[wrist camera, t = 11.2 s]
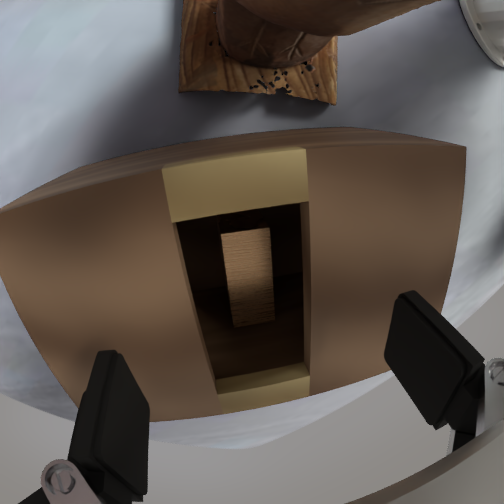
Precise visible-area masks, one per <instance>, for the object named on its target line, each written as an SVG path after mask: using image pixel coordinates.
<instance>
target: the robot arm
mask: <svg viewBox="0 0 504 504" xmlns="http://www.w3.org/2000/svg"><path fill="white" fill-rule="evenodd" d="M459 2H460V5H461V8H462V11H463V14H464V17H465V19H466V21H467V23H468V26H469V28H470V30H471V32H472V33H473V35H474V37H475V39H476V40H477V42H478V44H479V45H480V46H481V48H482V49H483V51H484V52H485V53H486V54H487V55H488V56H489V58H490V59H491V60H492V61H494V62H495V63H496V64H497V65H499V66H501V67H504V0H459ZM384 359H385V361H386V363H387V364H388V366H389V367H390V369H391V370H392V371H393V373H394V374H395V376H396V377H397V379H398V380H399V382H400V383H401V384H402V386H403V387H404V389H405V390H406V392H407V393H408V395H409V396H410V398H411V399H412V401H413V402H414V404H415V405H416V407H417V408H418V410H419V411H420V413H421V414H422V416H423V417H424V419H425V420H426V422H427V423H428V424H429V425H433V427H434V428H435V430H437V429H439V428H441V427H443V426H444V425H446V424H447V423H449V425H450V427H451V431H450V437H449V444H448V450H447V455H446V457H444V458H442V459H441V460H439V461H438V462H436V463H434V464H432V465H430V466H429V467H427V468H425V469H423V470H421V471H419V472H417V473H415V474H414V475H412V476H410V477H408V478H406V479H404V480H401V481H399V482H398V483H395V484H393V485H391V486H388V487H386V488H384V489H382V490H379V491H377V492H375V493H372V494H370V495H367V496H365V497H362V498H360V499H357V500H354V501H352V502H349V503H346V504H504V359H502V358H494V359H491V360H490V361H489V362H487V364H486V366H485V364H484V363H483V362H484V360H485V359H484V358H483V357H482V356H481V354H480V353H479V352H478V351H477V350H476V349H475V348H474V347H473V346H472V345H471V344H470V343H469V342H468V341H467V340H466V339H465V338H464V337H463V336H462V335H461V334H460V333H459V332H458V331H457V330H456V329H455V328H454V327H453V326H452V325H451V324H450V323H449V322H448V321H447V320H446V319H445V318H444V317H443V316H442V315H441V314H440V313H439V312H438V311H437V310H436V309H435V308H434V307H433V306H432V305H431V304H429V303H428V302H427V301H426V300H425V299H424V298H423V297H422V296H421V295H420V294H419V293H418V292H417V291H415V290H411V291H407V292H404V293H401V294H399V295H398V298H397V299H396V300H395V302H394V307H393V313H392V318H391V323H390V328H389V332H388V337H387V341H386V346H385V350H384ZM149 421H150V407H149V403H148V401H147V400H146V398H145V396H144V394H143V393H142V391H141V389H140V387H139V385H138V384H137V382H136V380H135V378H134V376H133V374H132V372H131V370H130V369H129V367H128V365H127V363H126V361H125V359H124V357H123V355H122V354H121V353H117V351H116V350H103V351H98V353H97V355H96V358H95V361H94V365H93V368H92V371H91V375H90V378H89V382H88V385H87V389H86V391H84V393H83V395H82V398H81V402H80V406H79V409H78V413H77V418H76V422H75V426H74V431H73V435H72V439H71V444H70V449H69V454H68V459H67V460H63V459H58V460H54V461H52V462H50V463H49V464H48V465H46V467H45V468H44V470H43V471H42V475H41V485H42V487H41V488H40V489H38V490H37V491H36V492H34V493H33V494H31V495H30V496H29V497H27V498H26V499H24V500H23V501H21V502H20V503H18V504H132V501H135V502H143V495H146V494H147V487H148V486H147V485H148V482H147V481H148V480H147V479H148V476H147V475H148V441H149Z"/></svg>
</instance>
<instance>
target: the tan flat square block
mask: <svg viewBox="0 0 504 504" xmlns="http://www.w3.org/2000/svg"><path fill="white" fill-rule="evenodd" d="M216 220H217V227H218V235H219V242H220V249H221V257H222V264H223V271H224V278H225V283H226V289H227V294H228V299H229V304H230V309H231V314H232V319H233V325H234V328H236V327H242V326H248V325H254V324H259V323H265V322H271V321H275V310H274V291H273V273H272V256H271V239H270V227H269V226H268V224H267V223H266V221H265V220H264V218H263V217H262V215H261V214H260V212H259V211H258V209H251V210H245V211H238V212H232V213H226V214H220V215H216Z"/></svg>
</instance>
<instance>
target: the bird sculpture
mask: <svg viewBox="0 0 504 504" xmlns="http://www.w3.org/2000/svg"><path fill="white" fill-rule="evenodd" d="M436 1H441V0H183V4H184V5H183V12H182V23H181V27H182V35H181V43H180V72H179V89H178V93H182V92H188V91H200V90H201V91H202V90H211V91H219V90H221V89H222V90H225V91H228V92H230V91H232V92H235V91H238V92H249V93H251V92H253V93H256V94H258V93H262V92H263V93H267V94H274V95H275V92H276V91H275V89H276V88H278V89H279V88H281V87H285V88H286V84H288V85H289V87H288V89H287V91H288V90H292V93H286V94H289V95H291V94H292V95H293V96H295V97H298V96H299V97H301V98H306V99H309V100H313V99H318V100H319V101H322V102H326V103H330V104H331V105H334V106H335V105H336V100H337V41H338V36H345V35H351V34H353V33H356V32H359V31H362V30H365V29H367V28H369V27H371V26H374V25H377V24H379V23H381V22H384V21H386V20H389V19H392V18H394V17H396V16H400V15H402V14H404V13H407V12H409V11H411V10H413V9H418V8H420V7H421V6H424V5H428V4H431V3H433V2H436ZM216 8H217V11H216ZM214 12H216V15H215V14H214ZM217 31H218V32H217ZM218 39H219V40H220V44H221V46H218V43H219V40H218ZM211 42H212V46H210V45H209V44H210V43H211ZM224 50H226V51H227V54H228V55H229V56H228V57H226V56H225V54H226V53H225V52H224ZM304 61H307V63H308V64H307V65H304V64H301V63H302V62H304ZM309 61H310V62H309ZM274 68H277V70H276V69H275V70H274ZM274 71H277V72H278V73H277V74H276V75H274ZM284 71H287V72H288V74H287V75H285V74H284ZM301 71H303V74H301ZM282 72H283V75H282ZM261 76H263V78H261ZM276 76H279V77H280V78H281V79H280V80H278V81H276V82H275V81H274V80H275V77H276ZM284 79H286V81H285V80H284ZM257 80H260V81H262V82H264V83H265V86H268V88H267V89H264V87H263V86H262V85H261V84H258V83H257ZM271 81H272V82H273V83H272V84H274V85H275V87H274V88H272V87H271V85H269V84H268V83H269V82H271ZM262 84H263V83H262ZM254 85H258V86H259V87H258V88H255V87H253V86H254ZM316 85H319V87H317V86H316ZM249 86H252V87H253V89H252V90H251V89H249ZM266 90H268V91H267V92H266ZM313 91H314V92H313Z"/></svg>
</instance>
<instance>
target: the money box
mask: <svg viewBox="0 0 504 504" xmlns="http://www.w3.org/2000/svg"><path fill="white" fill-rule="evenodd" d="M465 171H466V147H465V146H461V145H456V144H452V143H448V142H443V141H438V140H433V139H428V138H423V137H417V136H412V135H406V134H400V133H393V132H386V131H379V130H371V129H363V128H354V127H327V128H307V129H292V130H279V131H268V132H258V133H249V134H241V135H233V136H225V137H218V138H211V139H205V140H199V141H193V142H187V143H181V144H176V145H170V146H165V147H160V148H155V149H151V150H146V151H141V152H137V153H133V154H128V155H124V156H120V157H116V158H112V159H108V160H104V161H100V162H97V163H93V164H89V165H86V166H82V167H79V168H77V169H75V170H73V171H71V172H69V173H66V174H64V175H62V176H60V177H58V178H56V179H54V180H52V181H50V182H48V183H46V184H44V185H42V186H40V187H38V188H36V189H34V190H33V191H31V192H29V193H27V194H25V195H23V196H21V197H20V198H18V199H16V200H14V201H13V202H11V203H9V204H7V205H6V206H4V207H2V208H1V209H0V276H1V278H2V281H3V283H4V285H5V287H6V290H7V292H8V294H9V296H10V298H11V300H12V302H13V305H14V307H15V309H16V311H17V313H18V315H19V317H20V318H21V320H22V322H23V324H24V326H25V328H26V330H27V332H28V333H29V335H30V337H31V339H32V340H33V342H34V344H35V346H36V347H37V349H38V351H39V352H40V354H41V355H42V357H43V359H44V360H45V362H46V363H47V365H48V367H49V368H50V370H51V371H52V373H53V374H54V376H55V377H56V379H57V380H58V381H59V383H60V384H61V386H62V387H63V389H64V390H65V391H66V393H67V394H68V395H69V397H70V398H71V399H72V401H73V402H74V403H75V405H76V406H77V407H78V409H79V406H80V402H81V398H82V395H83V393H84V391H86V389H87V385H88V382H89V378H90V375H91V371H92V368H93V365H94V361H95V358H96V355H97V353H98V351H103V350H116V351H117V353H121V354H122V355H123V357H124V359H125V361H126V363H127V365H128V367H129V369H130V370H131V372H132V374H133V376H134V378H135V380H136V382H137V384H138V385H139V387H140V389H141V391H142V393H143V394H144V396H145V398H146V400H147V401H148V403H149V407H150V421H149V422H159V421H171V420H182V419H191V418H200V417H207V416H214V415H221V414H228V413H234V412H240V411H245V410H251V409H256V408H261V407H266V406H270V405H275V404H280V403H284V402H288V401H292V400H296V399H300V398H304V397H308V396H312V395H316V394H319V393H323V392H326V391H330V390H333V389H336V388H340V387H343V386H346V385H349V384H352V383H356V382H359V381H362V380H364V379H367V378H370V377H373V376H376V375H379V374H381V373H384V372H387V371H390V370H391V369H390V367H389V366H388V364H387V363H386V361H385V359H384V350H385V346H386V341H387V337H388V332H389V328H390V323H391V318H392V313H393V307H394V302H395V300H396V299H397V298H398V295H399V294H401V293H404V292H407V291H411V290H415V291H417V292H418V293H419V294H420V295H421V296H422V297H423V298H424V299H425V300H426V301H427V302H428V303H429V304H431V305H432V306H433V307H434V308H435V309H436V310H437V311H438V312H439V313H440V314H441V311H442V308H443V304H444V300H445V297H446V293H447V289H448V285H449V280H450V276H451V272H452V267H453V262H454V257H455V252H456V246H457V241H458V235H459V228H460V221H461V214H462V205H463V196H464V185H465ZM251 209H258V211H259V212H260V214H261V215H262V217H263V218H264V220H265V221H266V223H267V224H268V226H269V227H270V239H271V256H272V273H273V291H274V310H275V321H271V322H265V323H259V324H254V325H248V326H242V327H236V328H234V325H233V319H232V314H231V309H230V304H229V299H228V294H227V289H226V283H225V278H224V271H223V264H222V257H221V249H220V242H219V235H218V227H217V220H216V215H220V214H226V213H232V212H238V211H245V210H251Z"/></svg>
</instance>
